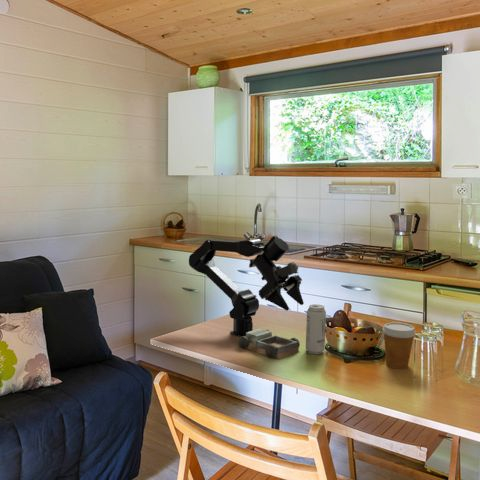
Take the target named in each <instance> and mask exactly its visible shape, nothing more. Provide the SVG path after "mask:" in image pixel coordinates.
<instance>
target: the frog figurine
mask: <svg viewBox="0 0 480 480" xmlns="http://www.w3.org/2000/svg"><path fill="white" fill-rule="evenodd" d="M384 341H385V340H384V332H383V333H382V336H381V338H380V340H379V343H378V345H377V348H376V349H378V348H380V347H381V346H382V344H383V342H384Z"/></svg>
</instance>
